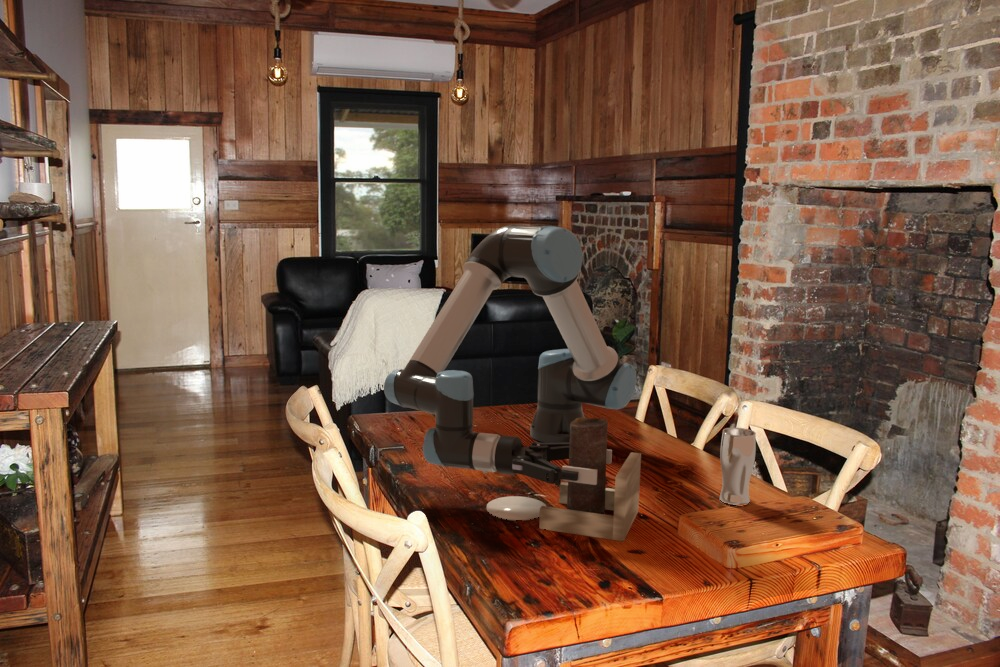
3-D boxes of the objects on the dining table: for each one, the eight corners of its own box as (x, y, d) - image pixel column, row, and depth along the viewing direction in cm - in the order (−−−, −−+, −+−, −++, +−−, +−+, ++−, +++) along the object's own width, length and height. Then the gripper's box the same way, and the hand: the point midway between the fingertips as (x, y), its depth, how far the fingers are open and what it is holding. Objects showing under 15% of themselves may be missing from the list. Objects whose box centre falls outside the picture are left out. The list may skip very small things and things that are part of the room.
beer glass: (711, 501, 173) (715, 431, 170) (727, 493, 178) (731, 425, 175) (742, 510, 168) (747, 438, 166) (757, 501, 173) (762, 431, 171)
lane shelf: (539, 528, 156) (540, 467, 154) (560, 500, 171) (562, 444, 169) (623, 541, 151) (626, 478, 149) (638, 511, 166) (641, 453, 164)
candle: (593, 529, 156) (597, 426, 153) (559, 521, 160) (562, 420, 157) (610, 517, 163) (614, 418, 160) (577, 509, 167) (580, 412, 164)
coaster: (511, 494, 174) (511, 492, 174) (558, 508, 167) (558, 505, 167) (474, 510, 165) (474, 507, 165) (522, 525, 158) (522, 523, 158)
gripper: (517, 454, 178) (616, 466, 171) (477, 491, 155) (589, 507, 148) (518, 420, 177) (617, 431, 170) (477, 452, 153) (590, 466, 147)
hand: (604, 466), depth 159 cm, fingers open, 13 cm apart
